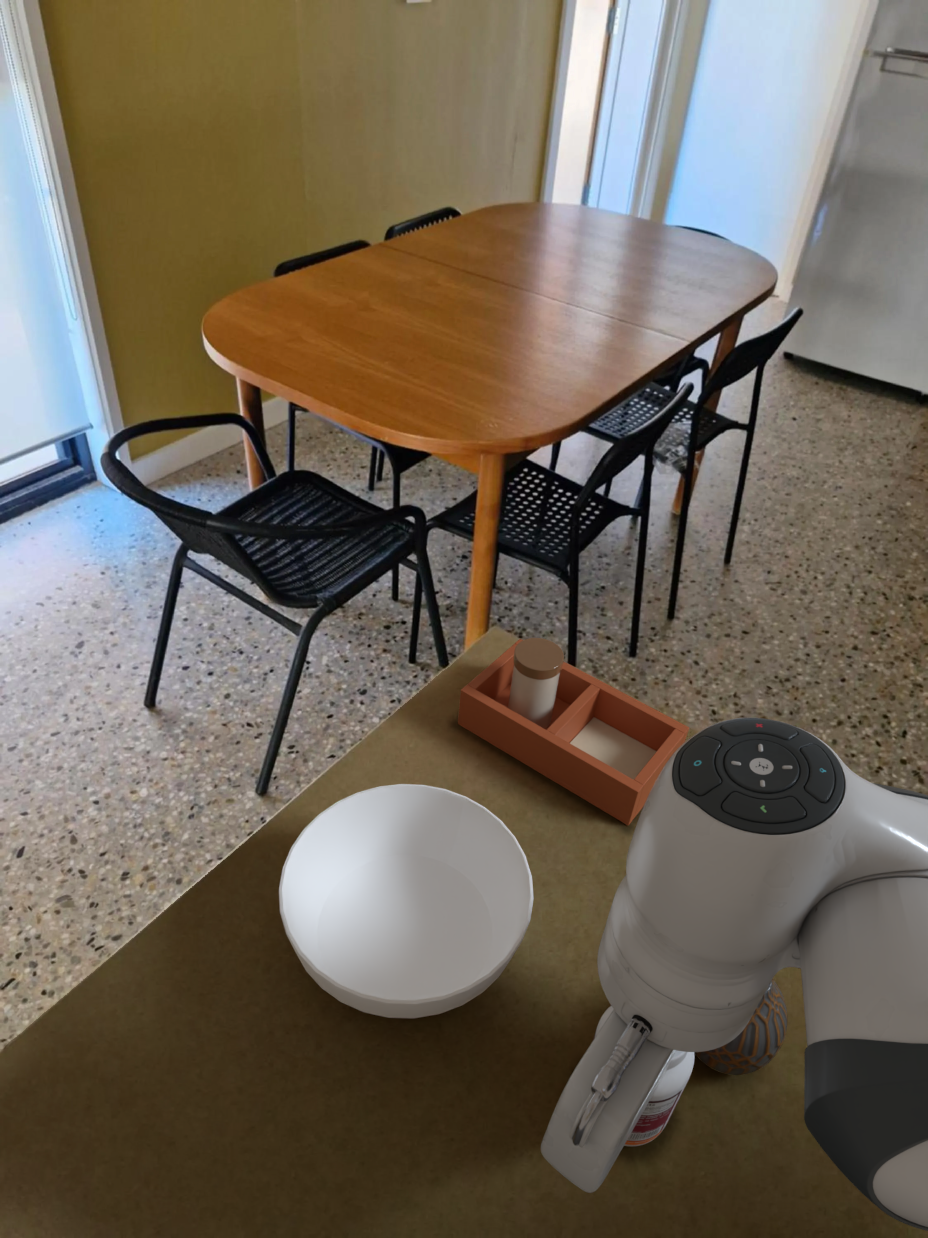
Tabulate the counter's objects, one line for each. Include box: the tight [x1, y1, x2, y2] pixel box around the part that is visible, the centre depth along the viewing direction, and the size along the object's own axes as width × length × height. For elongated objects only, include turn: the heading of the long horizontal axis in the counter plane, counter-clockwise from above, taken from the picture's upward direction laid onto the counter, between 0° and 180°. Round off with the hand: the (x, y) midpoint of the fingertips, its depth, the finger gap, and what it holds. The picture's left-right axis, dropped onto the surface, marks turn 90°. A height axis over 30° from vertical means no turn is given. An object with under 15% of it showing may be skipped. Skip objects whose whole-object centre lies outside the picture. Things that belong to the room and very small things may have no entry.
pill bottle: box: [591, 1005, 695, 1147], centre depth 57 cm, size 6×6×11 cm
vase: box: [694, 978, 788, 1076], centre depth 61 cm, size 7×7×9 cm
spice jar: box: [508, 637, 565, 729], centre depth 84 cm, size 5×5×8 cm
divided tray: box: [457, 638, 690, 826], centre depth 84 cm, size 10×19×5 cm, turn 53°
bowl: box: [278, 783, 535, 1019], centre depth 66 cm, size 18×18×7 cm
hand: (634, 1072), depth 57 cm, fingers closed on pill bottle, 6 cm apart
